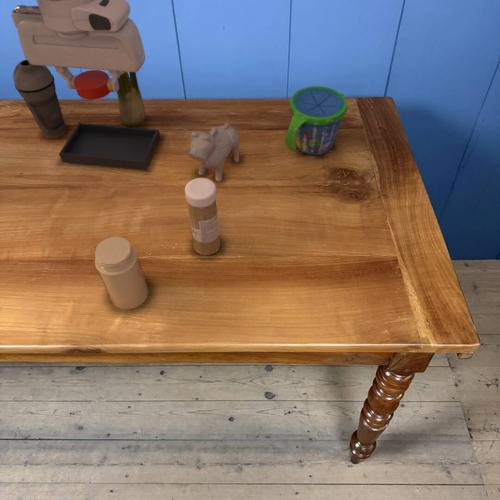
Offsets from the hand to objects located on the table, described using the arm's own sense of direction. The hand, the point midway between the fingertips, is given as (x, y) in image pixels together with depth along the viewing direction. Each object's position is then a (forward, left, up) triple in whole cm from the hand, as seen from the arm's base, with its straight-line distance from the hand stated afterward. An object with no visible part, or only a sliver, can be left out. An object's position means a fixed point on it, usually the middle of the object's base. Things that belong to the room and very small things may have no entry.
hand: (94, 88), depth 82 cm
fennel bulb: (+2, +9, -14) cm, 17 cm away
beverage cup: (-14, +4, -14) cm, 20 cm away
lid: (0, 0, +1) cm, 2 cm away
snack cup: (+40, +7, -14) cm, 43 cm away
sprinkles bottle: (+24, -22, -14) cm, 35 cm away
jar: (+14, -33, -14) cm, 38 cm away
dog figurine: (+22, -3, -14) cm, 26 cm away
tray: (0, 0, -14) cm, 14 cm away
